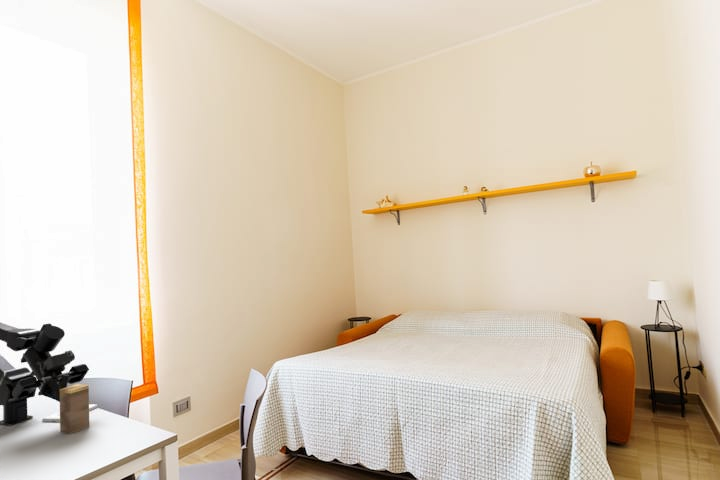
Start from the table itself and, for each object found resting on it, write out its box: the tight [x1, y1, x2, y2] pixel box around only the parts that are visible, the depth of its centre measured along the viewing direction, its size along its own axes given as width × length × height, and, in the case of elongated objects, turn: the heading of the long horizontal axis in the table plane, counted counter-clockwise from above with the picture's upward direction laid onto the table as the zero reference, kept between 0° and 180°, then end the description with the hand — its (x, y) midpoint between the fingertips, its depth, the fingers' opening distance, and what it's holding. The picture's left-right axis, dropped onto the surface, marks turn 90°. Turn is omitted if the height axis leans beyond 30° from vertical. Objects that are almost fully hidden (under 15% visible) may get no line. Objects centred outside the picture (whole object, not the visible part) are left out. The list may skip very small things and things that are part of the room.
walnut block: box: [59, 383, 90, 435], centre depth 120 cm, size 5×5×12 cm
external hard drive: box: [41, 403, 99, 423], centre depth 133 cm, size 2×8×12 cm
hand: (65, 402), depth 121 cm, fingers closed
